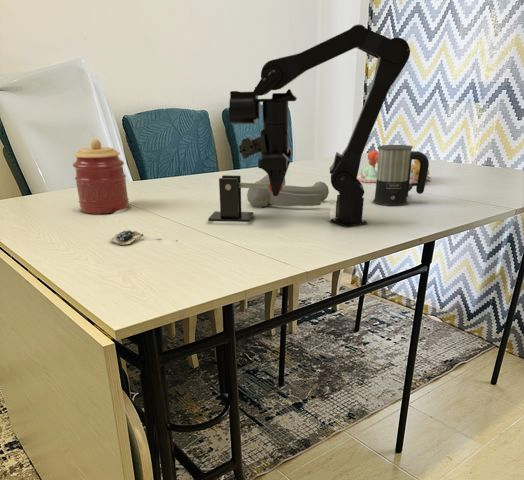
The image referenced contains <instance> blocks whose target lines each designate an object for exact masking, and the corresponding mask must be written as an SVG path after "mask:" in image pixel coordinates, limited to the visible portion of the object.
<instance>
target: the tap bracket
mask: <svg viewBox="0 0 524 480" xmlns="http://www.w3.org/2000/svg"><path fill="white" fill-rule="evenodd" d="M238 183H242V177H241V175H237V174H236V175H234V174H233V175H231V174H229V175H226V174H225V175H224V174H223V175H221V177H219V178H218V189H219V209H220V210H219V211H216V210H215V211H214V212H213V213H212V214H211V215H210V216H209V217H208V220H207V221H208V222H234V223H235V222H237V223H240V222H241V223H249V222H250V221H251V219H252V218H253V216H254V211H242V188H238Z"/></svg>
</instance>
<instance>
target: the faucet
mask: <svg viewBox="0 0 524 480" xmlns="http://www.w3.org/2000/svg"><path fill="white" fill-rule="evenodd" d="M254 183H263V184H269V183H270V180H269V176H268V174H267V173H266V175H265V176H263V177H262V178H261V179H259V180H257V181H255V182H254ZM282 184H283V188H282V191H281V192H280V193H279V194H278V196H273V193H271V192H270V190H269V189H261V188H247V189H248V190H247V194H246V197H247V201H248V203H249V205H251V206H252V207H253V208H265V207H267V206H269V205H273V206H280V207H316V206H321V205H322V202H324V201H325V200H326V199H327V198H328V197H329V194H330V191H329V186H328V185H327V183H326V182H323V181H317V182H315V183H314V184H313V185H311V186H310V185H309V186H299V185H286V178H284V180H283V183H282Z"/></svg>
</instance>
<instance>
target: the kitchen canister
mask: <svg viewBox="0 0 524 480" xmlns="http://www.w3.org/2000/svg"><path fill="white" fill-rule="evenodd" d="M120 154H121V153H120V152H119V151H118V150H116V149H115V148H113V147H109V146H102V143H101V141H100V140H99V139H98V138H97V139H96V138H93V139H92V140H91V141H90V147H82V148H80V149H78V151H77V152H75V153H74V157H75V158H76V160H75V161H74V162H73V163H72V167H73V168H74V169H75V176H74V180H75V183H76V184H75V185H76V189H77V194H78V195H77V196H78V203H79V207H80V210H81V211H82V212H83V213H87V214H92V215H93V214H94V215H96V214H99V215H101V214H104V215H105V214H112V213H116V212H118V211H120V210H124V209H126V208H128V207H129V204H130V200H129V199H130V198H129V197H128V196H129V195H128V188H127V180H126V177H127V175H126V174H125V173H124V168H123V166H124V165H125V162H124V160H122V159H120V157H119V156H120Z"/></svg>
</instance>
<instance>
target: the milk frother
mask: <svg viewBox="0 0 524 480" xmlns="http://www.w3.org/2000/svg"><path fill="white" fill-rule="evenodd" d="M413 148H414V146H413V145H408V144H383V145H382V144H381V145H378V146H377V151H378V152H379V156H378V164H377V166H378V167H377V169H376V171H377V181H376V182H375V183H376V184H375V191H374V198H373V203H374V204H377V205H383V206H401V205H405V204H407V203H408V199H407V198H408V197H409V193H410V192H411V190H412V189H413V188H414V187H413V183H411V184H409V182H410V172H411V165H412V163H413V162H412V161H414V159H416V160H419V162H420V170H419V176H418V181H417V183H416V188H415V190H416V193H417V194H418V195H421V194H424V191H425V187H426V183H427V180H426V178H427V172H428V170H429V167H430V161H429V159H428V157H427V155H426V154H425V153H423V152H421V151H415V150H412V149H413Z"/></svg>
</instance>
